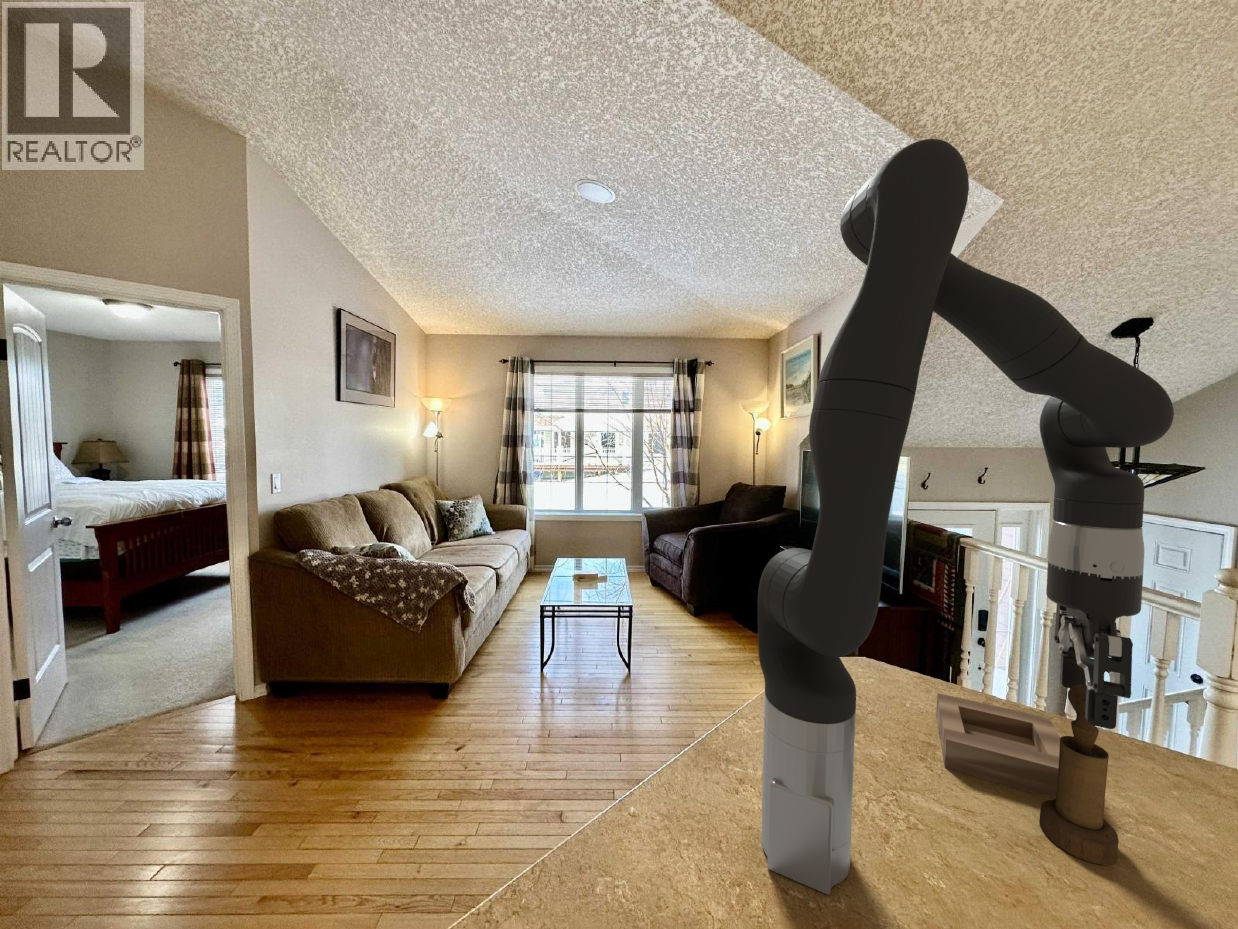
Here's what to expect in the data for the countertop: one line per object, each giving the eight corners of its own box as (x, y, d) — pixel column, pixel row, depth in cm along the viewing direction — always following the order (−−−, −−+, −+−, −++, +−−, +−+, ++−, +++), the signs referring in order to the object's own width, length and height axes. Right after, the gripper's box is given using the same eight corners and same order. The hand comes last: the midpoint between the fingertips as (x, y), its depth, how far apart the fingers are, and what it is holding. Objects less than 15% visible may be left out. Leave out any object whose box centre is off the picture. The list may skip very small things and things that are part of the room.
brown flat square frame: (1079, 809, 60) (1081, 774, 60) (944, 770, 67) (946, 739, 67) (1047, 746, 72) (1048, 717, 72) (936, 719, 79) (937, 693, 79)
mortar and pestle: (1135, 871, 51) (1147, 707, 50) (1064, 859, 52) (1074, 699, 51) (1088, 822, 58) (1097, 676, 57) (1026, 813, 59) (1034, 670, 58)
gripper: (1032, 547, 61) (1026, 670, 62) (1069, 575, 49) (1061, 729, 50) (1113, 553, 58) (1106, 685, 59) (1175, 586, 45) (1164, 752, 46)
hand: (1085, 705), depth 54 cm, fingers open, 8 cm apart
